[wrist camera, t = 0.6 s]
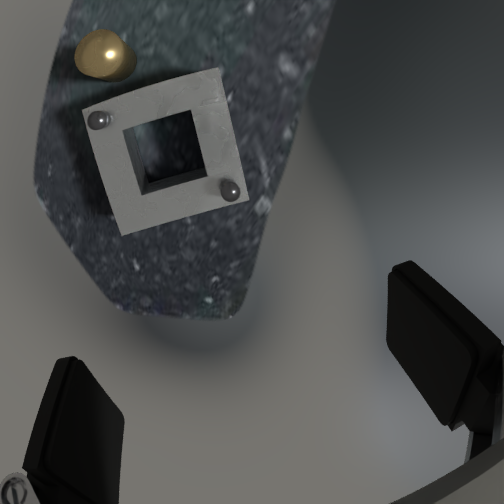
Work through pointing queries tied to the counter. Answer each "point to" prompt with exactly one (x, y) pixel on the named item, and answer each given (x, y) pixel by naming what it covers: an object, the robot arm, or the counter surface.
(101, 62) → the brass cylinder
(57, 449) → the robot arm
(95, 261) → the counter surface
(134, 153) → the jig
